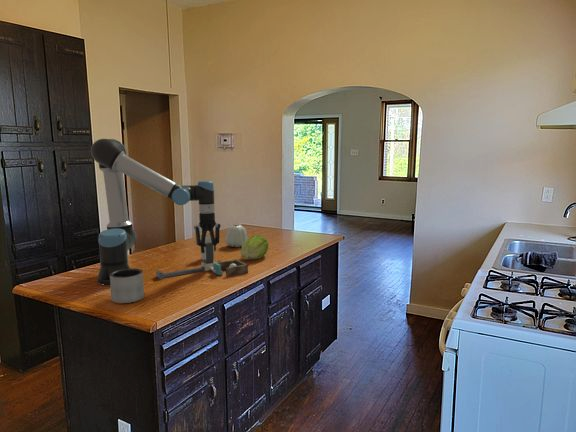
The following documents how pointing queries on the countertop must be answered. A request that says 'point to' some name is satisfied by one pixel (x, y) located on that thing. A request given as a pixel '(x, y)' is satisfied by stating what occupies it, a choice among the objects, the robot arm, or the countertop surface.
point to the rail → (179, 272)
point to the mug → (207, 239)
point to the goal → (235, 270)
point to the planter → (127, 285)
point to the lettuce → (254, 247)
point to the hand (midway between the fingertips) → (208, 258)
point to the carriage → (211, 260)
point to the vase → (236, 236)
